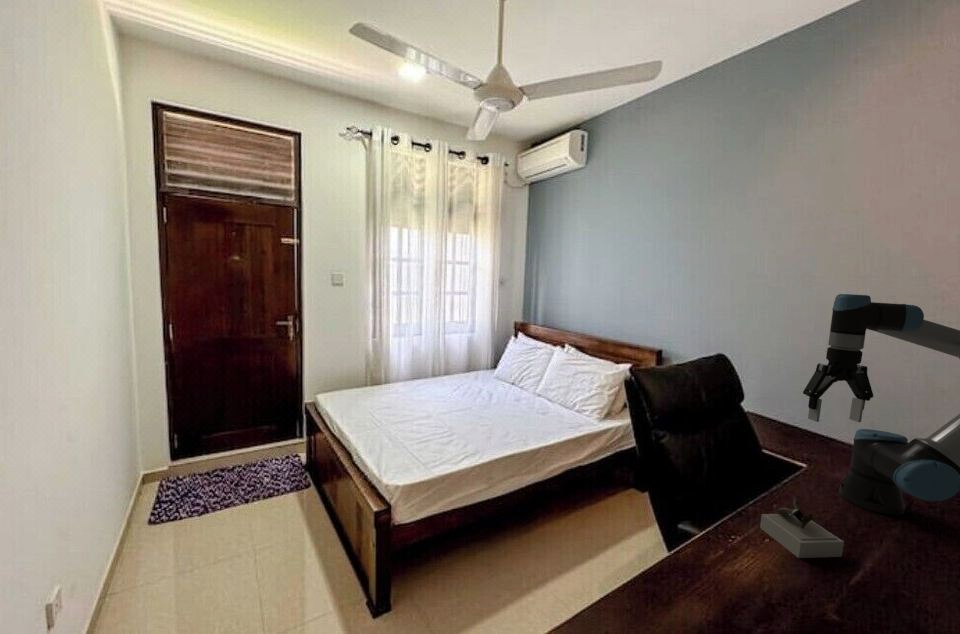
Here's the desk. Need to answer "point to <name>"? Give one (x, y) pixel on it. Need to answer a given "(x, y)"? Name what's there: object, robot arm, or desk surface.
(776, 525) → the tray
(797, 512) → the eagle figurine
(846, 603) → the desk surface
